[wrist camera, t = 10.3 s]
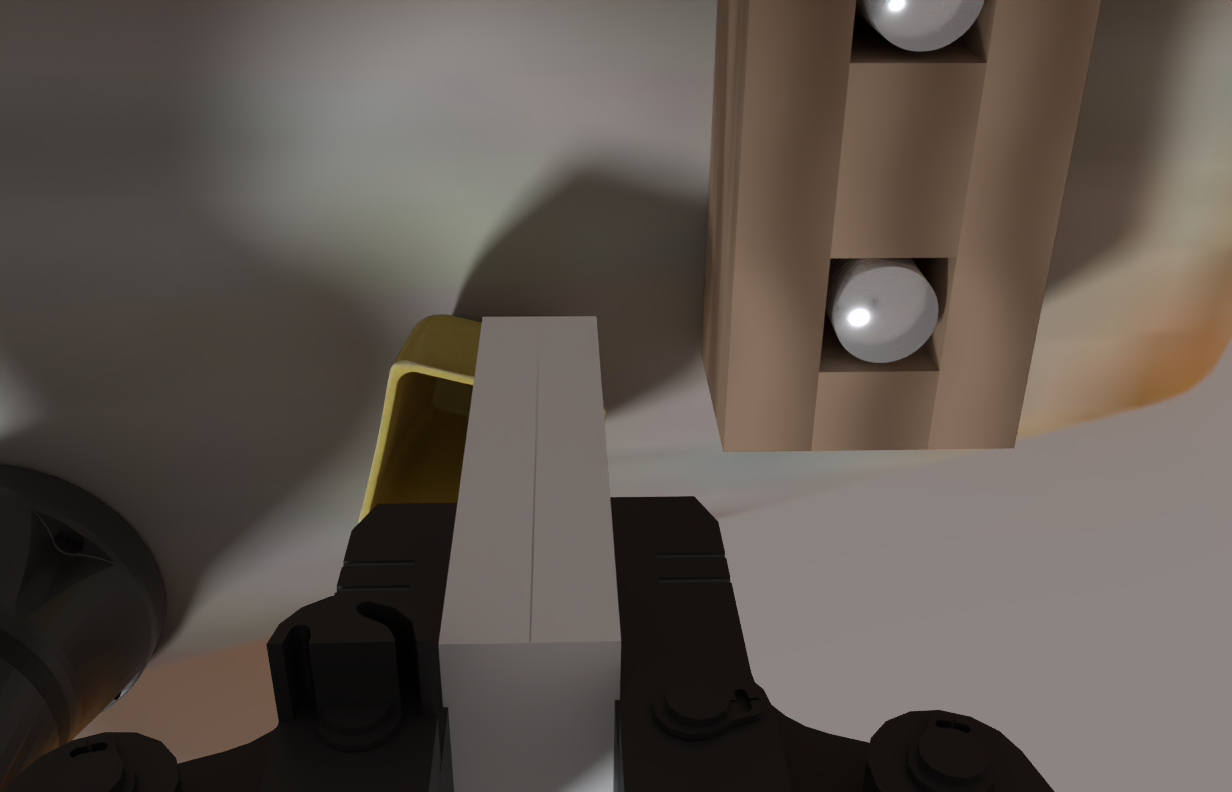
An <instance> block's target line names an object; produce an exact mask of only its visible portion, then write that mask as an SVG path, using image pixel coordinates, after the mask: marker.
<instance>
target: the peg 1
mask: <svg viewBox="0 0 1232 792" xmlns="http://www.w3.org/2000/svg"><path fill="white" fill-rule="evenodd" d="M983 3H984V0H856V7H855V13H856V14H857V15H859V16H860V17H861V18H862V19H863V20H865V21H866V22H867V23H868V24H869V25H870V26H872V27H873V28H874V29H875V30H876V31H877V32H879V33H880V34H881V35H882V36H883V37H884V38H886V39H887V40H888V41H889V42H891V43H892V44H894V45H896V46H898V47H900V48H903V49H905V50H910V51H918V52H922V51H931V50H936V49H939V48H942V47H944V46H946V45H948V44H950V43H952V42H953V41H955V40H957V39H958V38H959V37H960V36H962V35H963V34H964V33H965V32H966V31H967V30H968V29H969V28H970V27H971V25H972V24H973V23H974V21H975V20H976V18H977V17H978V15H979V13H980V11H981V9H982V6H983Z"/></svg>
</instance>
